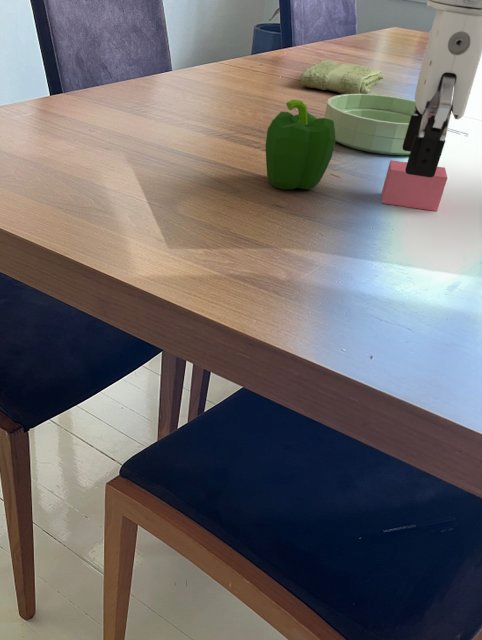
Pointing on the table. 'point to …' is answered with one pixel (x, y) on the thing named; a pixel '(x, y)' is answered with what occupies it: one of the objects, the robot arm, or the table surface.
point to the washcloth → (341, 77)
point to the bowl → (371, 121)
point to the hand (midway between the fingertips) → (416, 162)
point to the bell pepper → (298, 148)
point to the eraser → (413, 187)
